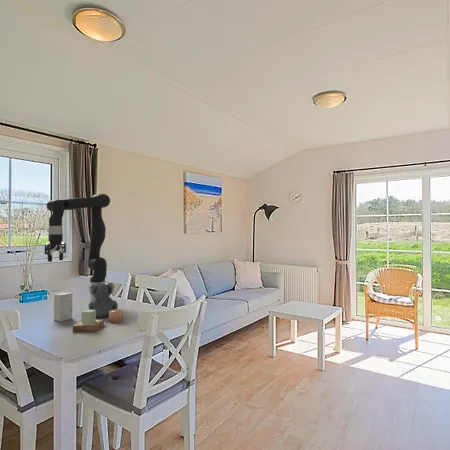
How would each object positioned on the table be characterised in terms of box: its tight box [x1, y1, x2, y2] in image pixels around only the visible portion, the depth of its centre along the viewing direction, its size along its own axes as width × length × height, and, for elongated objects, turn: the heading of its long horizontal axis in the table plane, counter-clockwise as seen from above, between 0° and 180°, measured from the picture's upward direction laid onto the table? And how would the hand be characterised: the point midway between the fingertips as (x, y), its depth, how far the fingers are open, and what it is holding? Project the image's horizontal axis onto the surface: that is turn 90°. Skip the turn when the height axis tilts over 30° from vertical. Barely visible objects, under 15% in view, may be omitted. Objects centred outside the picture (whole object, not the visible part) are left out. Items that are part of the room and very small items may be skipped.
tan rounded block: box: [108, 308, 123, 324], centre depth 193 cm, size 7×7×6 cm
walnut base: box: [72, 318, 105, 333], centre depth 179 cm, size 12×12×3 cm
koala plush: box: [88, 281, 119, 319], centre depth 207 cm, size 17×18×20 cm
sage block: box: [81, 308, 97, 324], centre depth 179 cm, size 5×5×6 cm
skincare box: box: [53, 292, 73, 322], centre depth 197 cm, size 8×6×15 cm
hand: (55, 260), depth 202 cm, fingers open, 8 cm apart
